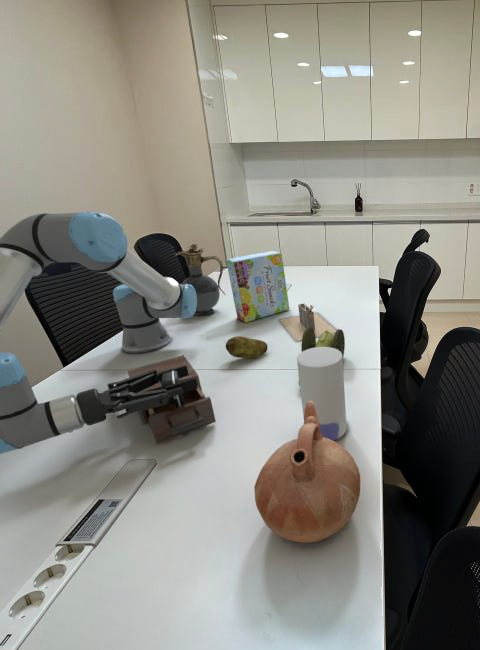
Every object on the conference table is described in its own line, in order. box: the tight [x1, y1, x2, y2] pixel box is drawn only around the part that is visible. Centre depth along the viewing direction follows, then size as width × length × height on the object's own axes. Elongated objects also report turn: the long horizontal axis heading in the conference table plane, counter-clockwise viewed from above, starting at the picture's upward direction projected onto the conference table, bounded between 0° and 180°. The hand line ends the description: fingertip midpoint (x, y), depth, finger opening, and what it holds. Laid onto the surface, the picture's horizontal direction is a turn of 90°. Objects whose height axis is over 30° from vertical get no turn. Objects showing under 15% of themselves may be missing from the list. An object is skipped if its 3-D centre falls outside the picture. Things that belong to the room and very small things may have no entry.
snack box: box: [225, 250, 290, 324], centre depth 164 cm, size 22×9×26 cm, turn 133°
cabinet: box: [126, 354, 203, 424], centre depth 106 cm, size 16×15×9 cm
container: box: [296, 347, 348, 442], centre depth 90 cm, size 10×10×20 cm
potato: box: [225, 335, 268, 360], centre depth 129 cm, size 8×13×8 cm, turn 102°
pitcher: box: [175, 243, 226, 316], centre depth 167 cm, size 11×19×30 cm, turn 118°
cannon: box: [298, 328, 346, 387], centre depth 119 cm, size 25×12×11 cm, turn 168°
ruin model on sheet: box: [279, 303, 337, 342], centre depth 153 cm, size 25×16×10 cm, turn 27°
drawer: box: [147, 386, 217, 445], centre depth 95 cm, size 19×13×7 cm
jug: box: [253, 401, 361, 544], centre depth 67 cm, size 18×18×20 cm
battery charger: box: [161, 371, 186, 409], centre depth 95 cm, size 7×4×11 cm, turn 27°
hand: (191, 376), depth 96 cm, fingers open, 8 cm apart
